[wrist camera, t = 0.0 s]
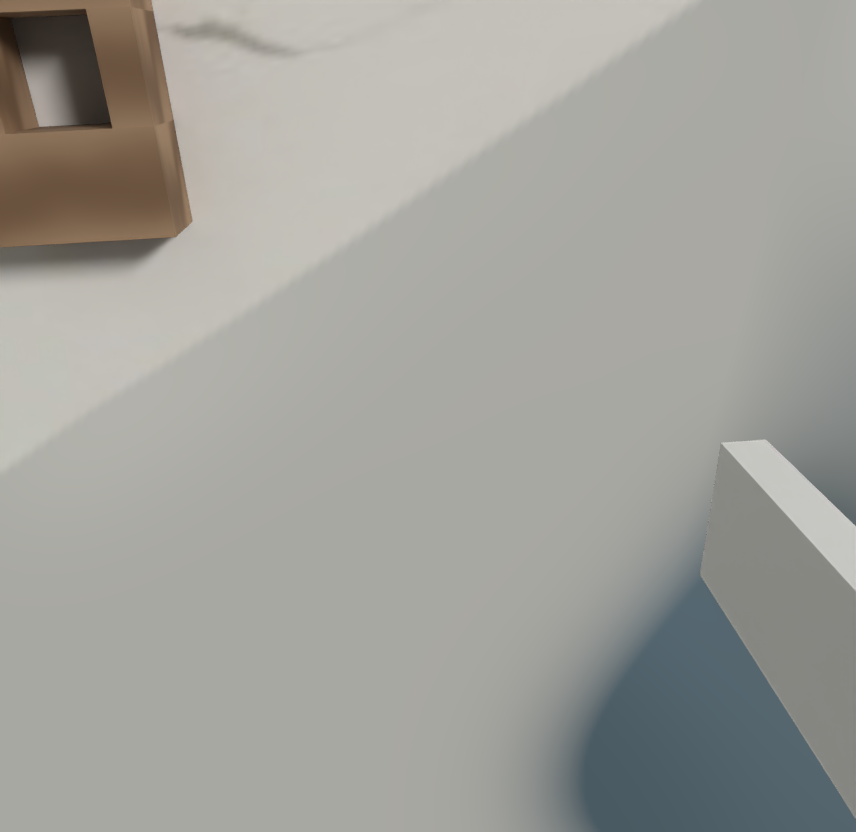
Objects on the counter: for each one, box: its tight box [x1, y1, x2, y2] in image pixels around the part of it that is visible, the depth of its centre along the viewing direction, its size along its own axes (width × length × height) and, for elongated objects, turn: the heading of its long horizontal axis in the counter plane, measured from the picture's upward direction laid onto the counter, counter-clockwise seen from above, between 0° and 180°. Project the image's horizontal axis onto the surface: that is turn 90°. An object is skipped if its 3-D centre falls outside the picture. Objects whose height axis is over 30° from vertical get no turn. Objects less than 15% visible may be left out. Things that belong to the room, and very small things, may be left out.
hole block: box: [0, 0, 192, 247], centre depth 31 cm, size 14×8×4 cm, turn 3°
